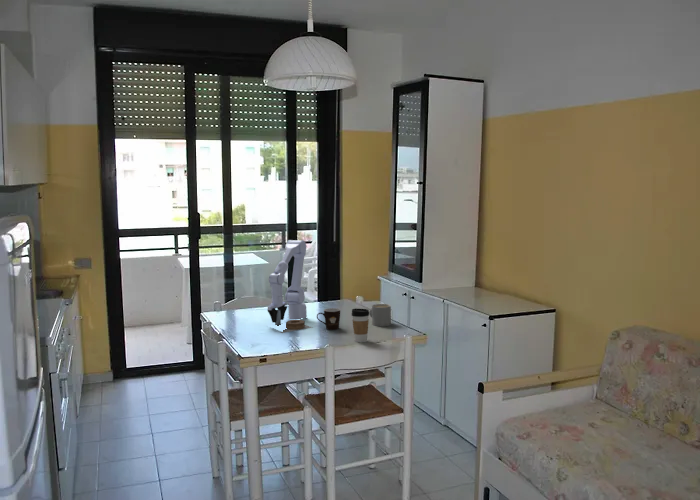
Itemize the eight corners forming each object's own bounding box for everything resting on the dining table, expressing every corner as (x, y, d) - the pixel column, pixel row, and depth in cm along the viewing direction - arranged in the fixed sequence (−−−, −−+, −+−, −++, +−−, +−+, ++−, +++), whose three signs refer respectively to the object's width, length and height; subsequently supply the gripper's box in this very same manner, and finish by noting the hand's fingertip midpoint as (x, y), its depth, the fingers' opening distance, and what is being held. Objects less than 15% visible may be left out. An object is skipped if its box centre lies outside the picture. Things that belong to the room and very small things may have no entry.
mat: (296, 321, 314) (296, 321, 314) (312, 328, 299) (312, 327, 299) (266, 326, 304) (266, 326, 304) (282, 333, 289) (282, 332, 289)
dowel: (279, 324, 307) (278, 309, 307) (281, 325, 305) (281, 310, 304) (274, 325, 306) (273, 310, 305) (276, 326, 303) (276, 311, 302)
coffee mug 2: (394, 324, 303) (394, 306, 302) (378, 327, 298) (378, 308, 297) (380, 320, 314) (380, 302, 313) (365, 322, 309) (364, 304, 308)
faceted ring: (298, 324, 306) (298, 319, 306) (307, 327, 299) (307, 322, 298) (283, 327, 301) (283, 321, 301) (292, 330, 294) (291, 324, 293)
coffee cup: (351, 338, 276) (350, 307, 274) (368, 337, 277) (368, 307, 275) (352, 343, 268) (352, 311, 266) (370, 342, 268) (370, 310, 267)
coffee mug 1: (343, 327, 299) (342, 308, 298) (337, 331, 291) (337, 312, 290) (322, 326, 303) (322, 307, 301) (316, 330, 294) (315, 310, 293)
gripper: (278, 293, 312) (279, 317, 313) (262, 297, 299) (263, 323, 301) (289, 293, 309) (290, 318, 310) (273, 298, 296) (274, 324, 297)
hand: (277, 321), depth 305 cm, fingers open, 6 cm apart
